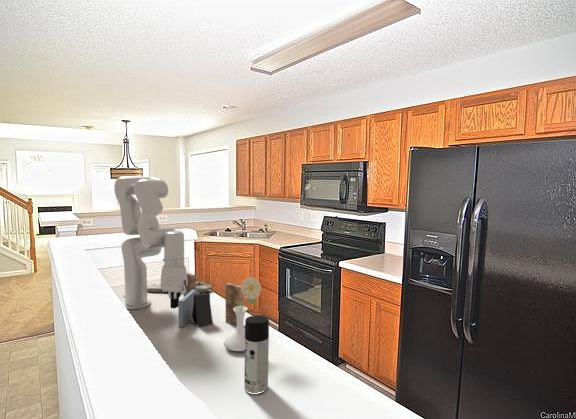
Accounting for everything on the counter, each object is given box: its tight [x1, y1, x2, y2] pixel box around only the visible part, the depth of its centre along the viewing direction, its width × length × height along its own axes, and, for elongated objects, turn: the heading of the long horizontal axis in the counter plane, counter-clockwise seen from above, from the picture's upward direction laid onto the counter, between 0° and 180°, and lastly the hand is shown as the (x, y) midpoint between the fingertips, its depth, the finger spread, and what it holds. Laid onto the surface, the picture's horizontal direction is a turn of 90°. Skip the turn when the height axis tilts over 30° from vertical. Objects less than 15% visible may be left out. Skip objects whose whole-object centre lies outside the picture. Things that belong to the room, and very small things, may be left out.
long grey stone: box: [147, 280, 213, 294], centre depth 183 cm, size 35×5×10 cm
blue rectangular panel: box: [177, 287, 199, 328], centre depth 146 cm, size 20×2×10 cm, turn 176°
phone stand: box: [191, 292, 213, 328], centre depth 142 cm, size 9×6×12 cm, turn 31°
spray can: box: [243, 315, 270, 393], centre depth 96 cm, size 7×7×20 cm
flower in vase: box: [223, 276, 262, 352], centre depth 120 cm, size 13×11×25 cm
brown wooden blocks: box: [183, 272, 244, 326], centre depth 148 cm, size 35×2×16 cm, turn 55°
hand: (174, 307), depth 138 cm, fingers closed
